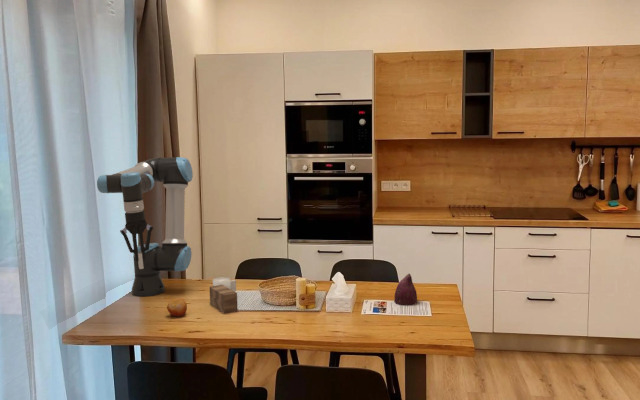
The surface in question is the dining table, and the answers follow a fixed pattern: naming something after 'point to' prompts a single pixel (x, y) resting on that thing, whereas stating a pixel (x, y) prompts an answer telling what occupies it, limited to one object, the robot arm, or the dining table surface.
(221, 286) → the brown wooden block
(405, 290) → the vegetable
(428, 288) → the dining table surface
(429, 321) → the dining table surface
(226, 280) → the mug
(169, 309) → the fruit
